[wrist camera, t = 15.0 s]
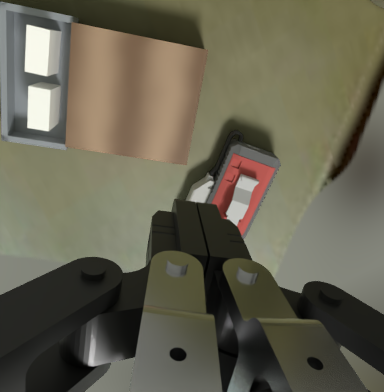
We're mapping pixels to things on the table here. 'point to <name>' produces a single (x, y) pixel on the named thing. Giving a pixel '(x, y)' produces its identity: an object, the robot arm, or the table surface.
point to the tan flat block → (132, 94)
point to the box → (30, 74)
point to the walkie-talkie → (237, 182)
